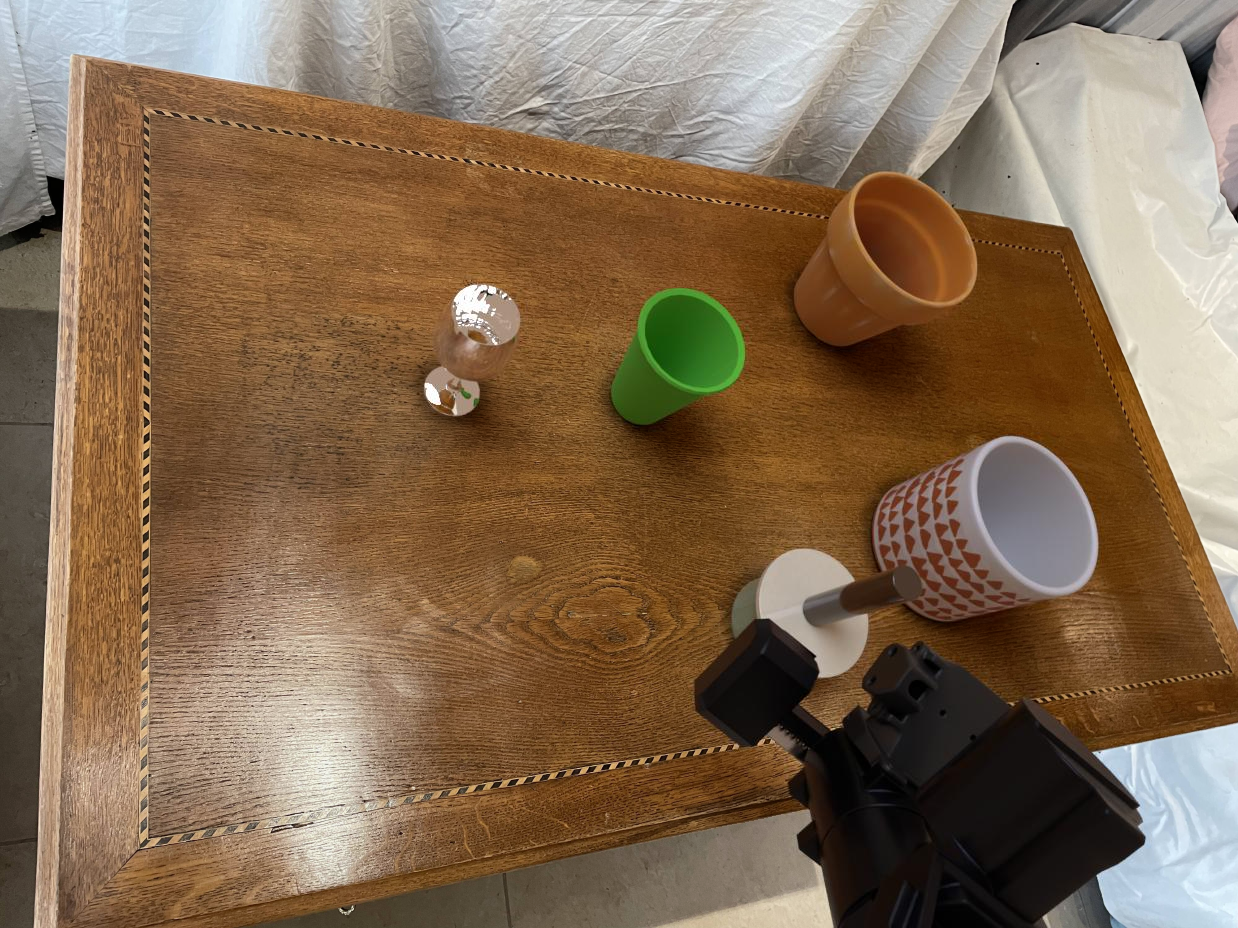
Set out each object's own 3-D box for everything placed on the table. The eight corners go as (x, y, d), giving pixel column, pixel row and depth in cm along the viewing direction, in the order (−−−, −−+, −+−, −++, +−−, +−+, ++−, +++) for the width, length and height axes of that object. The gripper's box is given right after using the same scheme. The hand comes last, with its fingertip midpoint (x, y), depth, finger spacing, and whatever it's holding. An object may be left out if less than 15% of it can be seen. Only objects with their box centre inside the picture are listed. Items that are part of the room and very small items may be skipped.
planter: (979, 643, 74) (1101, 620, 63) (859, 590, 71) (966, 556, 60) (987, 515, 80) (1100, 473, 69) (877, 461, 77) (977, 409, 66)
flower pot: (905, 358, 83) (1002, 294, 72) (806, 383, 77) (896, 316, 66) (849, 245, 86) (934, 165, 75) (748, 259, 80) (825, 175, 69)
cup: (595, 340, 69) (646, 271, 60) (687, 370, 72) (749, 309, 62) (581, 430, 66) (632, 372, 56) (678, 459, 68) (743, 408, 59)
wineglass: (477, 354, 64) (515, 274, 54) (496, 418, 63) (538, 348, 53) (407, 362, 62) (433, 279, 52) (424, 429, 60) (454, 357, 50)
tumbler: (817, 675, 66) (859, 667, 61) (734, 672, 63) (771, 663, 58) (808, 581, 69) (847, 566, 64) (728, 574, 66) (762, 558, 61)
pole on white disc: (789, 699, 58) (888, 683, 49) (735, 572, 60) (820, 534, 51) (883, 650, 63) (991, 628, 53) (830, 534, 65) (924, 493, 55)
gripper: (1166, 870, 35) (1026, 689, 50) (854, 614, 34) (806, 505, 49) (980, 1010, 38) (900, 798, 53) (685, 779, 36) (689, 628, 51)
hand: (828, 684), depth 51 cm, fingers open, 9 cm apart
